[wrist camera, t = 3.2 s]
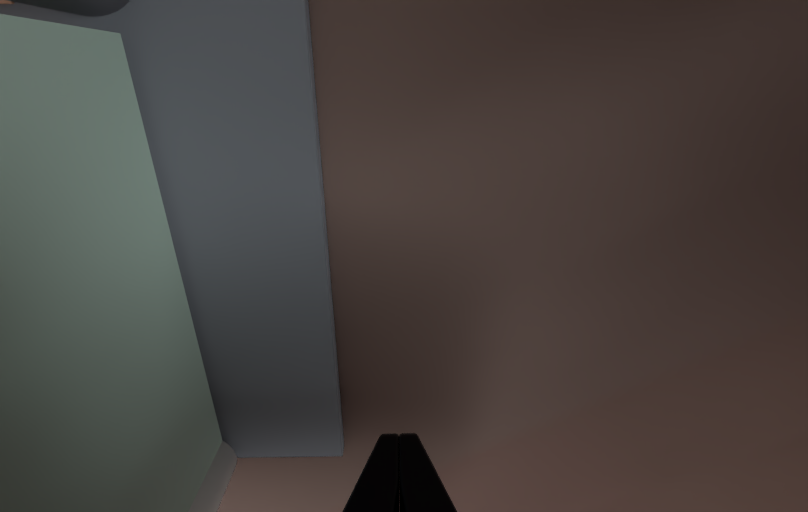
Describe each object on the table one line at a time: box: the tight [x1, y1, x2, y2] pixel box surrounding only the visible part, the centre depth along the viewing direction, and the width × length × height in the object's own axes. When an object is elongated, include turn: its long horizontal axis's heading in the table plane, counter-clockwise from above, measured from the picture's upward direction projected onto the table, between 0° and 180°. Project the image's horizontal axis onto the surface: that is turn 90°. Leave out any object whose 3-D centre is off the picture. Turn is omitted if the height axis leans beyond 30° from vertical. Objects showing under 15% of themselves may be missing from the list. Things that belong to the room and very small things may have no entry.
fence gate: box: [0, 14, 237, 512], centre depth 7 cm, size 12×2×7 cm, turn 0°
